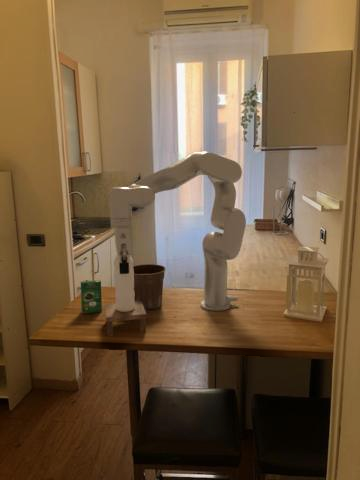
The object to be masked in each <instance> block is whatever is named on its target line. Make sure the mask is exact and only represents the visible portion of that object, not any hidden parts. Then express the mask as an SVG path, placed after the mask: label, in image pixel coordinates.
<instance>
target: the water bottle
mask: <svg viewBox="0 0 360 480" xmlns="http://www.w3.org/2000/svg"><path fill="white" fill-rule="evenodd" d="M121 249H122V246H121ZM127 253H128V252H127ZM121 254H122V253H121ZM121 258H122V257H121ZM133 259H134V258H132V254H131V255H129V254H128V262H129V273H128V274H120V265H119V263H120V256H119V255H118V254H117V253H116V255H115V258H114V261H113V267H114V269H113V271H114V273H113V275H114V277H113V278H114V279H113V280H114V288H115V289H114V290H115V291H114V297H115V303H116V310H118V311H120V312H129V311H132V310H133V309H134V308H135V300H134V296H135V293H134V269H133V266H134V264H135V263H134V262H135V261H134V260H133Z"/></svg>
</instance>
